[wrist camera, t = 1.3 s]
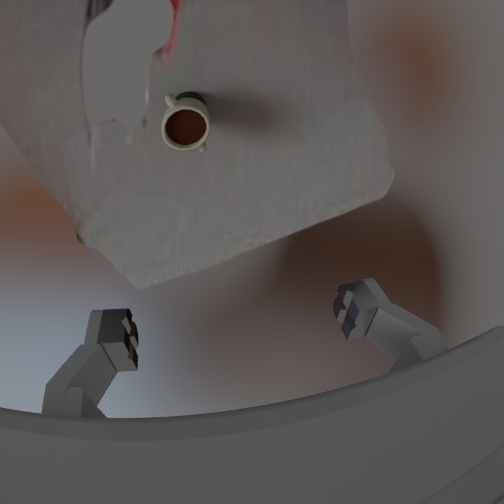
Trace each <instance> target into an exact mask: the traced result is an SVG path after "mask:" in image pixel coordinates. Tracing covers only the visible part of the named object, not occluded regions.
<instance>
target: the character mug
mask: <svg viewBox="0 0 504 504" xmlns="http://www.w3.org/2000/svg"><path fill="white" fill-rule="evenodd" d="M165 101H166V103H167V104H168V106H169V107H168V109H167V110H166V112H165V114H164V117H163V121H162V136H163V139H164V141H165V143H166V144H167V145H168V146H170V147H171V148H173V149H176V150H179V151H191V150H193V149H196V148H199V150H200V151H201V152H205V151H206V150H207V149H206V140H207V138H208V136H209V134H210V118H209V113H208V110H207V108H206V106H205V102H204V100H203V99H202V97H201V96H200V95H198V94H196V93H194V92H184V93H181V94H179V95H177V96H176V97H174V95H173V94H171V93H167V95H166V97H165Z"/></svg>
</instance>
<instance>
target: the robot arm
mask: <svg viewBox="0 0 504 504" xmlns="http://www.w3.org/2000/svg"><path fill="white" fill-rule="evenodd" d="M337 292H338V295H337V297H336V298H335V299H334V302H333V312H334V315H335V317H336V319H337V321H339V322H341V323H342V327H341V329H342V331H343V333H344V335H345V337H346V339H347V340H352V339H357V338H362V337H365V338H366V339H367V340H368V341H369V342H371V343H372V344H373V345H374V346H376V347H377V348H378V349H379V350H381V351H382V352H383V353H385V354H386V355H387V356H388V357H390V358H391V359H392V360H393V361H395V364H394V365H393V367H392V368H391V370H390V372H389V373H387V374H384V375H381V376H378V377H375V378H372V379H369V380H366V381H363V382H359V383H356V384H352V385H349V386H346V387H342V388H338V389H334V390H331V391H327V392H323V393H319V394H315V395H310V396H306V397H302V398H297V399H293V400H288V401H283V402H279V403H273V404H268V405H262V406H256V407H250V408H244V409H237V410H231V411H223V412H215V413H206V414H196V415H186V416H171V417H152V418H107V417H106V416H105V415H104V414H103V413H102V412H101V411H100V410H99V409H98V407H97V405H98V403H99V402H100V400H101V398H102V397H103V395H104V393H105V392H106V390H107V389H108V387H109V385H110V384H111V382H112V380H113V379H114V377H115V376H116V374H117V372H121V371H136V370H137V368H138V355H137V353H136V351H135V350H136V349H137V347H138V331H137V327H136V324H135V323H134V322H133V321H132V313H131V311H130V309H128V308H127V309H105V310H92V312H91V313H90V316H89V321H88V326H87V331H86V336H85V342H84V344H83V345H80V346H79V347H78V348H77V349H76V350H75V352H74V353H73V354H72V355H71V356H70V357H69V358H68V360H67V361H66V362H65V363H64V364H63V365H62V367H61V368H60V369H59V370H58V371H57V372H56V374H55V375H54V376H53V377H52V378H51V379H50V381H49V382H48V383H47V384H46V389H45V394H44V400H43V407H42V414H40V413H31V412H24V411H18V410H12V409H6V408H1V407H0V504H504V327H503V326H496V327H494V328H492V329H490V330H488V331H486V332H484V333H483V334H480V335H478V336H477V337H474V338H472V339H470V340H468V341H466V342H464V343H462V344H460V345H458V346H455V347H453V348H451V349H450V348H449V346H448V345H447V344H446V342H445V340H444V339H443V337H442V336H441V334H440V333H439V331H438V330H437V328H435V327H433V326H432V325H430V324H428V323H427V322H425V321H423V320H421V319H420V318H418V317H416V316H415V315H413V314H411V313H409V312H408V311H406V310H404V309H402V308H400V307H399V306H397V305H395V304H391V303H390V301H389V300H388V298H387V297H386V295H385V294H384V292H383V291H382V290H381V288H380V287H379V285H378V284H377V282H376V281H375V280H374V279H372V278H370V279H364V280H358V281H352V282H347V283H341V284H340V285H339V286H338V289H337Z"/></svg>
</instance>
